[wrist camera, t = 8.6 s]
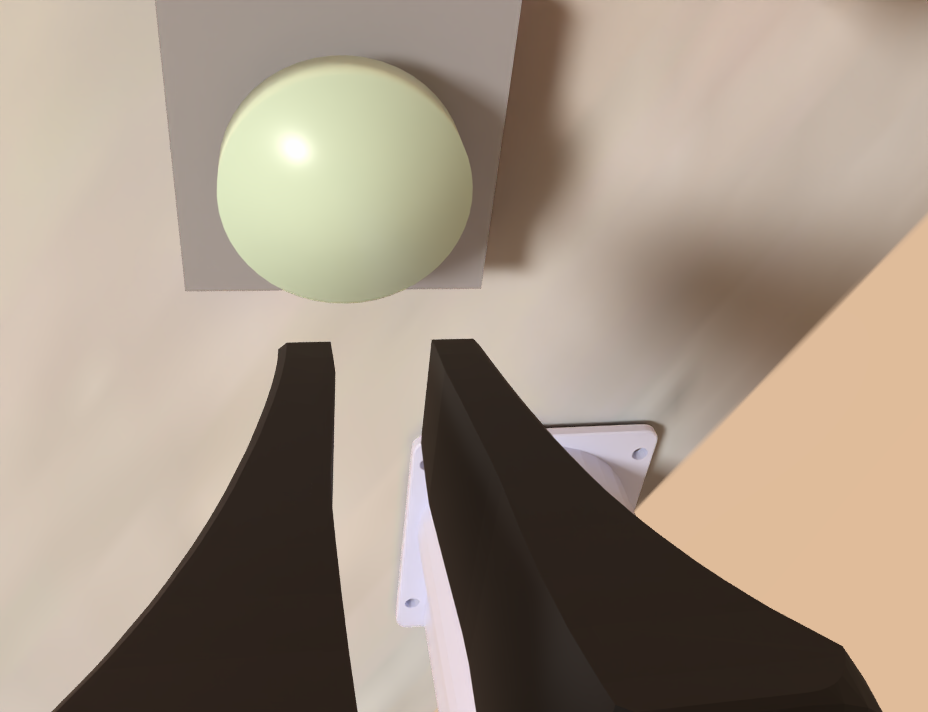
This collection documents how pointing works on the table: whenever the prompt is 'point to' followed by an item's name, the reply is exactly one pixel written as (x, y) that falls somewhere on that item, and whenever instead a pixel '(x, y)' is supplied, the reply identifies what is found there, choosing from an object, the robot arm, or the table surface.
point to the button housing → (318, 35)
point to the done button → (343, 180)
